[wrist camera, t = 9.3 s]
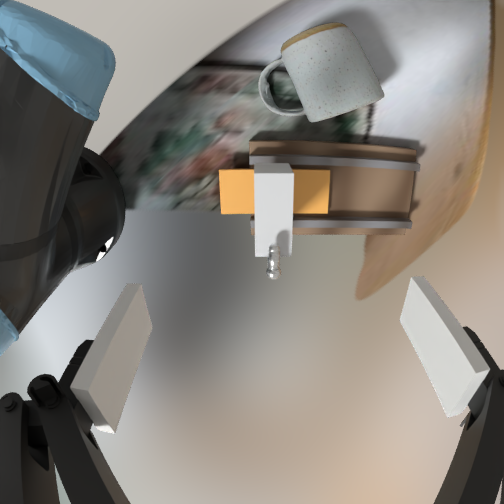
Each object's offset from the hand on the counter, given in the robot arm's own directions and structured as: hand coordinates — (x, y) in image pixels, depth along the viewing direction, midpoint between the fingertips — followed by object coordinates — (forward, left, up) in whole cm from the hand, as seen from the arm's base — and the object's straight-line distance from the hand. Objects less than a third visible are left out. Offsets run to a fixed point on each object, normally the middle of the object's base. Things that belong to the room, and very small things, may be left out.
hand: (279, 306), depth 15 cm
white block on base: (+1, 0, -19) cm, 19 cm away
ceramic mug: (+5, +11, -21) cm, 25 cm away
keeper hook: (0, -3, -19) cm, 20 cm away
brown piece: (+7, 0, -21) cm, 22 cm away
